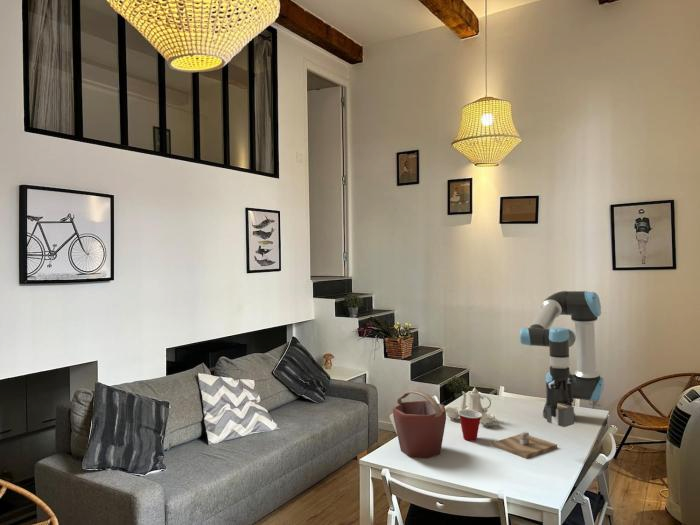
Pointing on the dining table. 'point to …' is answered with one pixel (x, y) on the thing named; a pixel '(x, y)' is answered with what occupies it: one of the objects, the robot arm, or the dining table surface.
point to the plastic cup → (469, 423)
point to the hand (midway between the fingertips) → (560, 422)
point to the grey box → (562, 415)
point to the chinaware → (472, 408)
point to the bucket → (420, 426)
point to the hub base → (524, 445)
